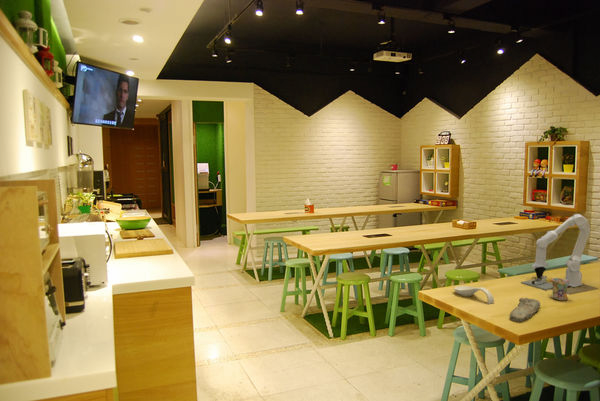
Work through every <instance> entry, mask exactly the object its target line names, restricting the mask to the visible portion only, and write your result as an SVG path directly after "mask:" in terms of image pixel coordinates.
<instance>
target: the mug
mask: <svg viewBox="0 0 600 401" xmlns="http://www.w3.org/2000/svg"><path fill="white" fill-rule="evenodd" d="M550 280H551V283H552V284H553V289H552V292H551V294H550V298H551V299H553V300H557V301H568V299H569V297H568V294H567V291H568V287H569V283H570V281H568V280H565V278H559V277H553V278H551V279H550Z"/></svg>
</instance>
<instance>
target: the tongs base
mask: <svg viewBox="0 0 600 401" xmlns="http://www.w3.org/2000/svg"><path fill="white" fill-rule="evenodd" d="M529 280H530V281H529V283H530V284H534V281H538V280H542V278H536V279H533V280H532V279H529Z"/></svg>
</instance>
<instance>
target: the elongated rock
mask: <svg viewBox="0 0 600 401" xmlns="http://www.w3.org/2000/svg"><path fill="white" fill-rule="evenodd" d="M540 307H541V302H540V301H539V300H538V299H535V298H528V297H525V298H524V297H520V298H519V299H518V304H517V306H515V307H514V309H512V310H511V312H510V314H509V319H510V320H511V321H513V322H515V323H523V322H524V321H527V320H528V319H530V318H532V317H533V316H534V315H535V314H536V313H537V312H538V311H539V309H540Z"/></svg>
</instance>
